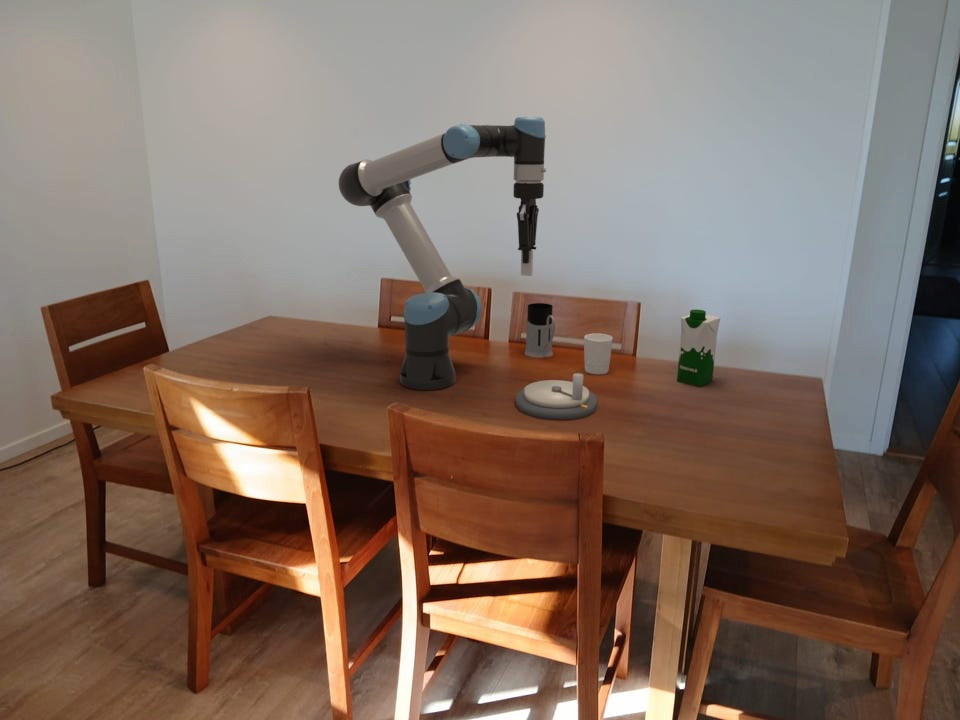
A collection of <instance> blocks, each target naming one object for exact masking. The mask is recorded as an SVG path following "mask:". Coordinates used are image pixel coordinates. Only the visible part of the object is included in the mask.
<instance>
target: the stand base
mask: <svg viewBox="0 0 960 720" xmlns="http://www.w3.org/2000/svg"><path fill="white" fill-rule="evenodd" d="M524 389H525V387H524V388H522V389H520V390H519V391H518V392H517V393H516V395H515V407H516V408H517V409H518V410H519V411H520V412H522V413H524V414H526V415H528V416H530V417H535V418H539V419H543V420H544V419H545V420H556V421H566V420H568V421H569V420H577V419H581V418H584V417H588V416H589V415H592V414H593V413H594V412H596V410H597V405H598V398H597V395H596V394H594V393H593V392H592V391H590V390H589V399H588V401H587V402H586V403H584V404H582V405H580V406H576V407H570V408H550V407H543V406H539V405H535V404H533V403H530V402H529V401H527V400H526V399H525V397H524Z"/></svg>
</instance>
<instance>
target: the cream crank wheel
mask: <svg viewBox="0 0 960 720" xmlns="http://www.w3.org/2000/svg"><path fill="white" fill-rule="evenodd" d="M524 388H525V389H524ZM524 388H523V389H524V397H525V399H526V400H527V401H529V402H530V403H533V404H535V405H539V406H543V407H550V408H570V407H576V406H580V405H582V404H584V403H586V402H587V401H588V399H589V391H590V390H589V389H588V388H587V387H586V386H584V374H583V373H579V372H578V373H573V375H572V381H567V380H561V379H560V380H557V379H551V380H550V379H548V380H545V379H544V380H538V381H535V382H531V383H529V384H528V385H526V386H524Z"/></svg>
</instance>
